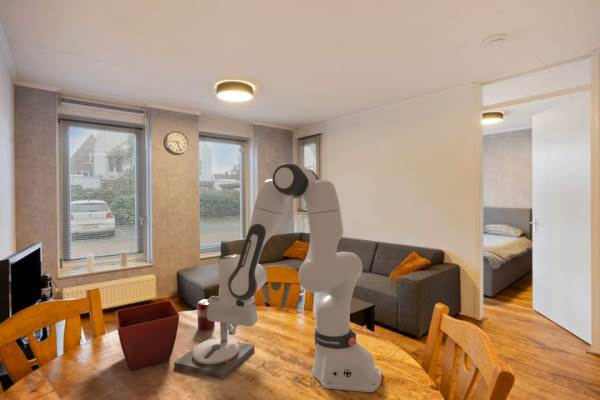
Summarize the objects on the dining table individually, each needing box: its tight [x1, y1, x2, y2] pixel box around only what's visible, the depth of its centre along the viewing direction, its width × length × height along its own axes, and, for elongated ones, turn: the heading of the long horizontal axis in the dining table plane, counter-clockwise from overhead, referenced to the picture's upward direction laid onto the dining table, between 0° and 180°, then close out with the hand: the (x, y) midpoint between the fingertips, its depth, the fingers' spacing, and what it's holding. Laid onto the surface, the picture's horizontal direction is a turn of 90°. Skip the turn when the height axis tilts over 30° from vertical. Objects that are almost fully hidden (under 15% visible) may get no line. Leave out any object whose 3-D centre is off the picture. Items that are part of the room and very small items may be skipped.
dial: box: [192, 322, 239, 364], centre depth 112 cm, size 16×16×8 cm
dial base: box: [173, 336, 255, 381], centre depth 112 cm, size 20×20×2 cm
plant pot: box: [115, 300, 180, 371], centre depth 113 cm, size 19×19×17 cm
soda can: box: [196, 298, 216, 332], centre depth 138 cm, size 7×7×12 cm
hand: (232, 334), depth 117 cm, fingers closed
